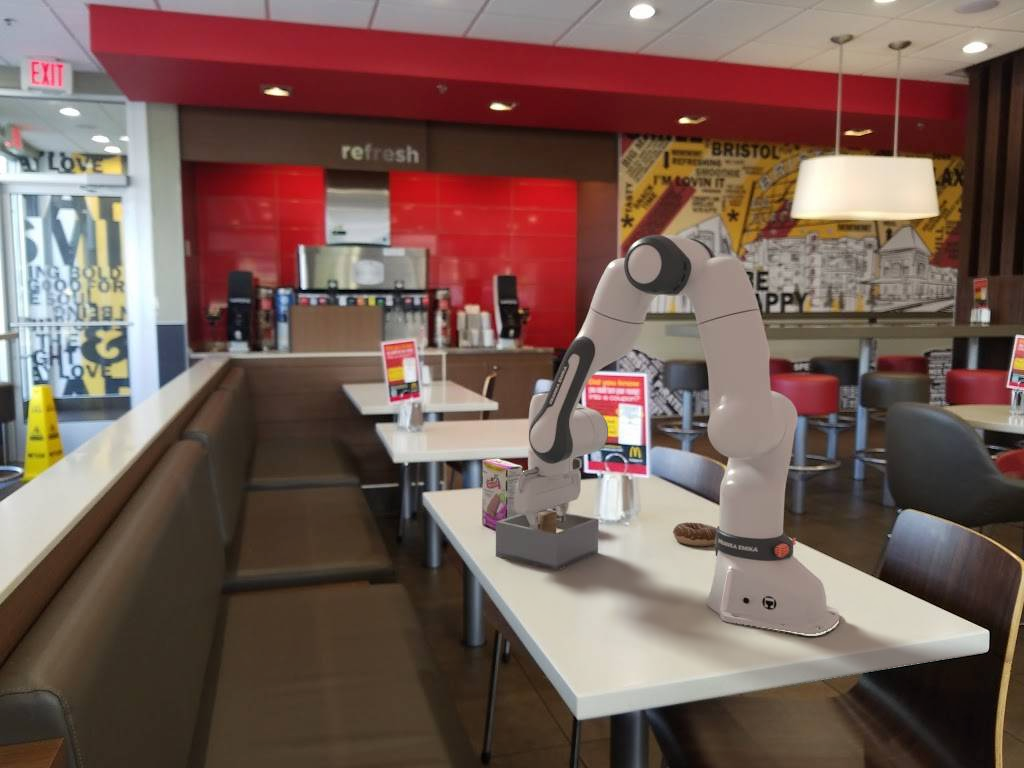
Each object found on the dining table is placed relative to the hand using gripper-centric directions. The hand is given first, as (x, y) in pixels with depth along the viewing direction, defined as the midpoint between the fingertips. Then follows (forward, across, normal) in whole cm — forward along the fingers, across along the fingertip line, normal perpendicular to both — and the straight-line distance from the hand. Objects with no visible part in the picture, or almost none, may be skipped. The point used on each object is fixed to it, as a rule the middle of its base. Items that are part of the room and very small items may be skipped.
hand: (547, 526), depth 174 cm
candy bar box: (+6, +9, +20) cm, 23 cm away
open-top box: (+6, 0, 0) cm, 6 cm away
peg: (+5, 0, 0) cm, 5 cm away
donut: (+6, +30, -21) cm, 37 cm away
